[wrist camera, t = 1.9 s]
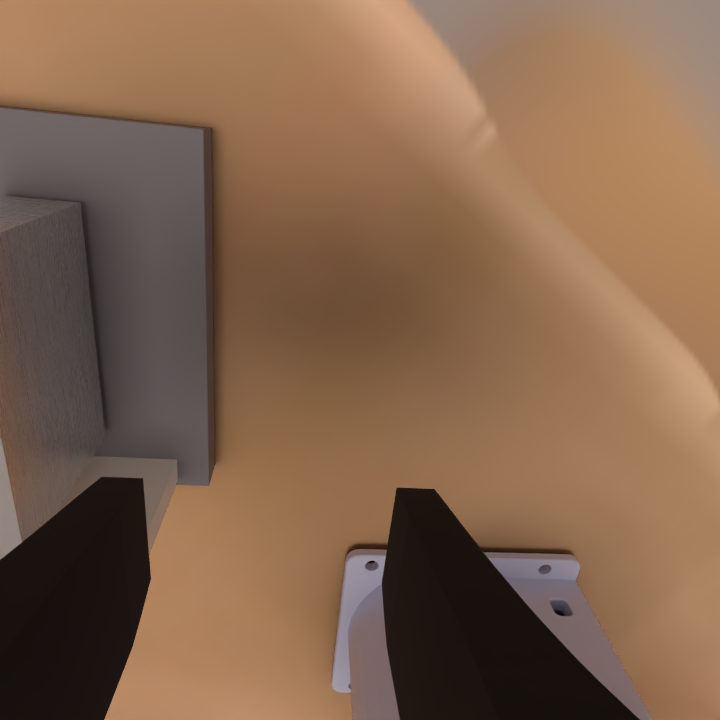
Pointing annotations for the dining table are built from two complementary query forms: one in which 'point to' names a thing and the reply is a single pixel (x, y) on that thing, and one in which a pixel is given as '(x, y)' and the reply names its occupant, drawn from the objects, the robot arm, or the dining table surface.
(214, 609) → the dining table surface
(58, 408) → the grey rectangular block
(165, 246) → the base
